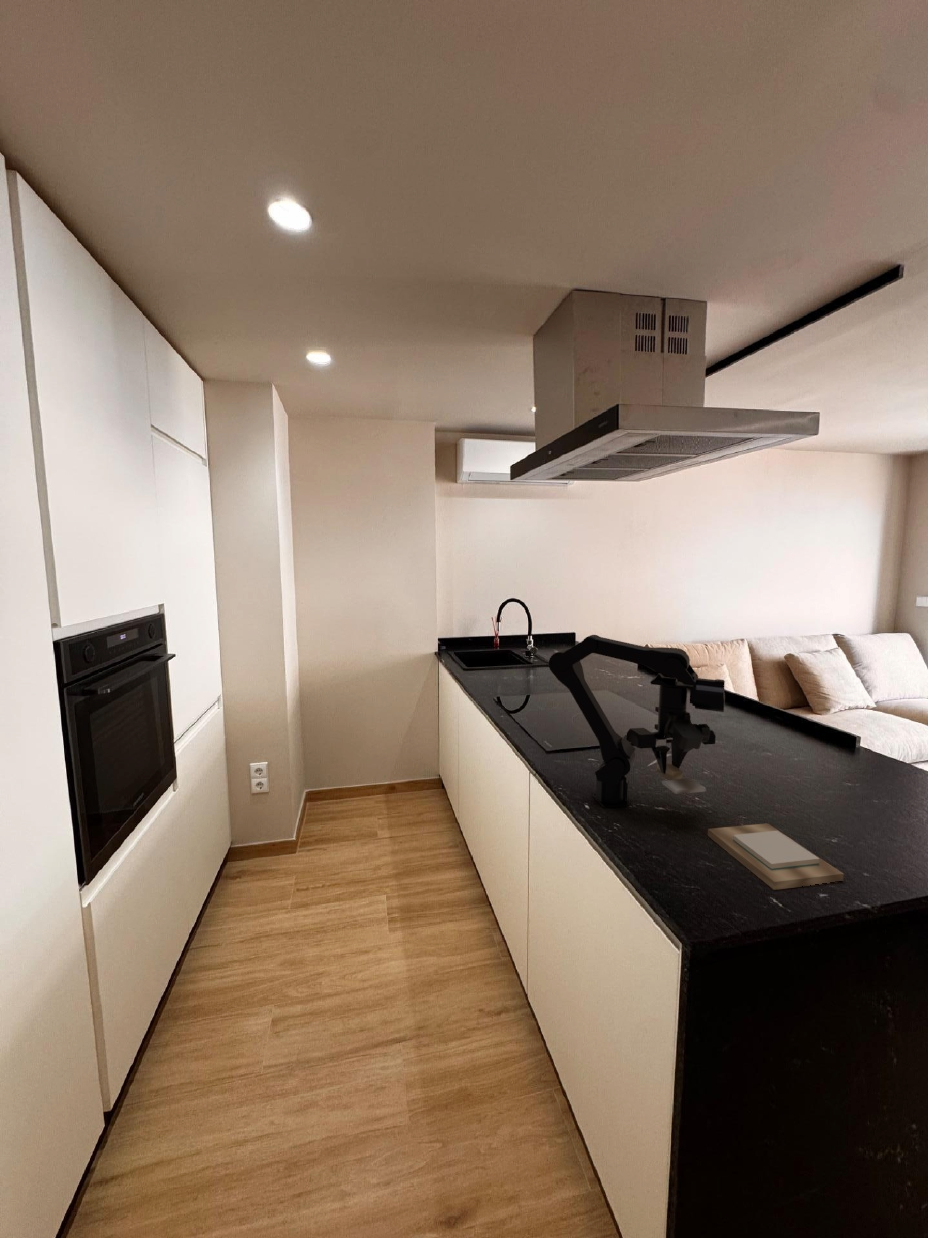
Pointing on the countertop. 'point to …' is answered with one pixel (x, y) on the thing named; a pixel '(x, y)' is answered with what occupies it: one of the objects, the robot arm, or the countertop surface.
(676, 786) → the turner
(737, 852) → the oak board
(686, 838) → the countertop surface
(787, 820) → the countertop surface
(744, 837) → the tile
